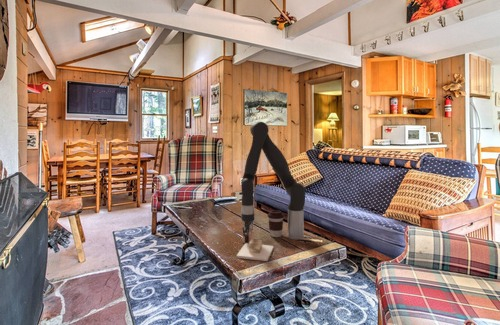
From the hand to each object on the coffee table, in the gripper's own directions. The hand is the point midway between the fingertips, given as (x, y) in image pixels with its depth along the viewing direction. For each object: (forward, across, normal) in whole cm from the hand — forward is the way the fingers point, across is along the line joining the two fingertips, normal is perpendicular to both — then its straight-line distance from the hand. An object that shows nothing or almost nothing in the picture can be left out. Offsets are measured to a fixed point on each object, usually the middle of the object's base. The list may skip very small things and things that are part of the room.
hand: (248, 240), depth 159 cm
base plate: (0, -14, -8) cm, 16 cm away
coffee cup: (+1, +13, -14) cm, 19 cm away
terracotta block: (0, 0, 0) cm, 0 cm away
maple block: (-1, -14, -8) cm, 16 cm away
